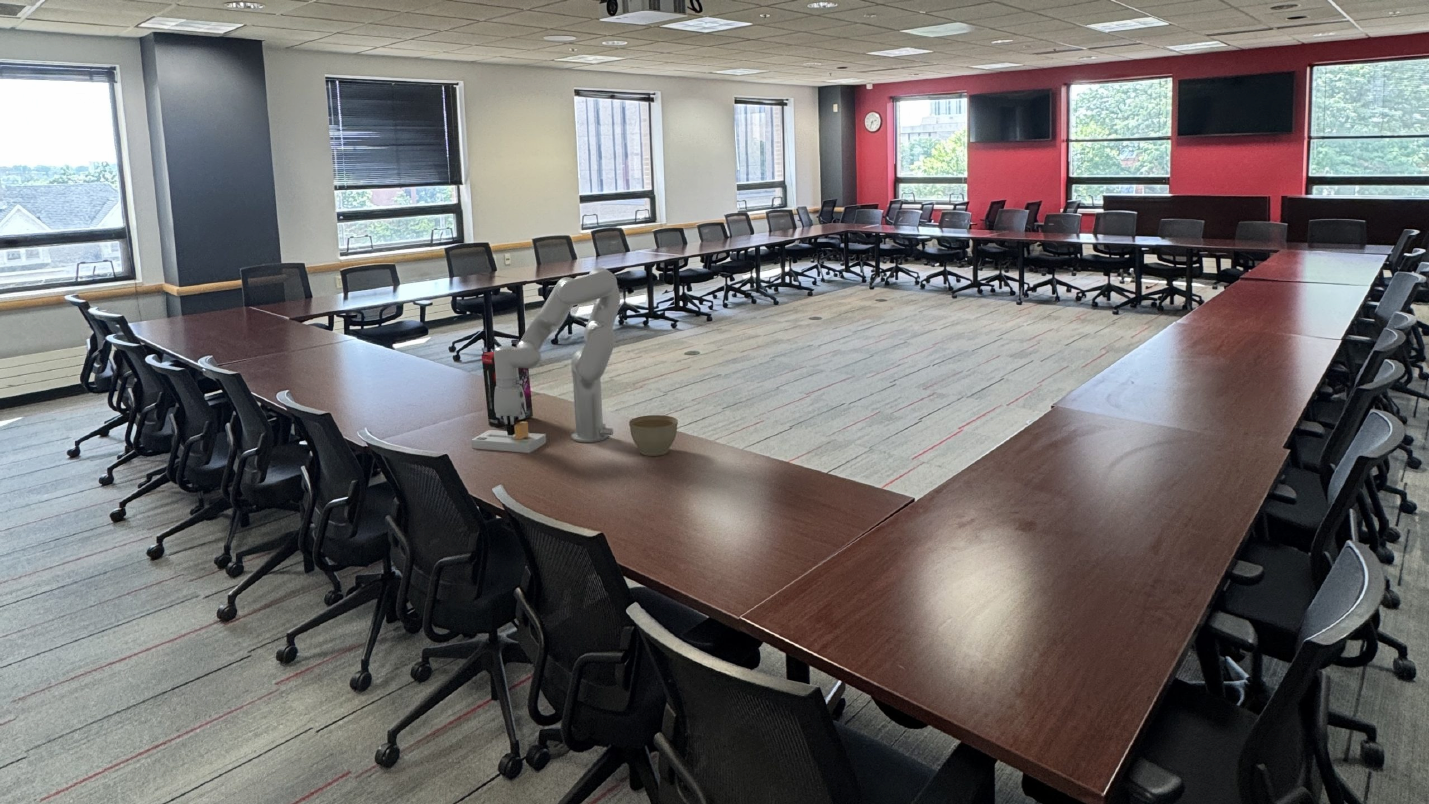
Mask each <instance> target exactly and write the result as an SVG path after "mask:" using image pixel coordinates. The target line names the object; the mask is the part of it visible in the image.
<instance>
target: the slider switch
mask: <svg viewBox="0 0 1429 804" xmlns="http://www.w3.org/2000/svg"><path fill="white" fill-rule="evenodd" d="M528 434H529V435H528V436H527V437H526V438H527V439H515V434H514V435H513V436H511V435H508V434H507V430H497V429H496V430H495V429H488V430H485V432H483V433H480V434H479V435H478V436H476V437H473V438H472V439H471V448H472V449H478V450H480V449H481V450H491V451H503V452H504V451H505V452H515V453H527V454H531V453H532V452H534V451H535V450H537V449H538V448H540V447H542V446H543V445H544V444H546V443H547V436H546V433H536V432H534V433H532V432H528Z"/></svg>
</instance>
